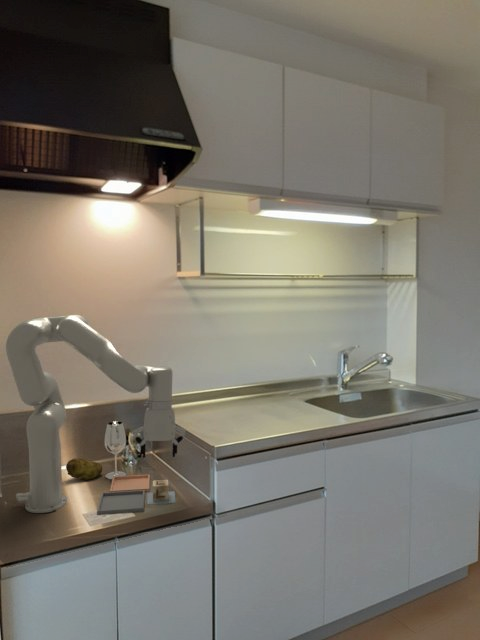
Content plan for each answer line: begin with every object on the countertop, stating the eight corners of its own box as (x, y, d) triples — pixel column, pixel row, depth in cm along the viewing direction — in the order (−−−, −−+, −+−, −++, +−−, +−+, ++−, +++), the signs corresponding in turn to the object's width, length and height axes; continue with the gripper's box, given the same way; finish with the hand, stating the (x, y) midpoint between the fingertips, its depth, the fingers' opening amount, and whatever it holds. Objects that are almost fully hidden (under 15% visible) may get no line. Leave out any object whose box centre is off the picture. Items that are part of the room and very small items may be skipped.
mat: (147, 506, 160) (147, 504, 160) (147, 494, 169) (147, 493, 169) (175, 504, 161) (175, 502, 161) (174, 493, 170) (174, 491, 170)
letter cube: (153, 501, 162) (152, 486, 162) (153, 495, 167) (152, 480, 167) (168, 500, 163) (168, 485, 163) (168, 494, 168) (167, 479, 168)
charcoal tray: (97, 515, 153) (97, 511, 153) (102, 497, 167) (102, 492, 167) (143, 512, 155) (143, 508, 155) (144, 494, 169) (144, 490, 169)
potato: (104, 480, 181) (103, 458, 181) (66, 485, 177) (66, 463, 176) (101, 472, 189) (101, 451, 189) (65, 477, 184) (65, 455, 184)
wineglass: (120, 470, 191) (119, 419, 190) (130, 476, 185) (129, 423, 184) (101, 475, 186) (100, 422, 184) (111, 481, 180) (110, 427, 179)
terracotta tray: (110, 495, 168) (110, 491, 168) (113, 480, 181) (113, 476, 181) (149, 492, 170) (149, 488, 170) (149, 478, 183) (149, 474, 183)
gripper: (132, 407, 158) (131, 460, 159) (187, 407, 161) (185, 459, 162) (133, 402, 165) (132, 452, 166) (186, 402, 168) (184, 451, 169)
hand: (158, 456), depth 164 cm, fingers open, 9 cm apart
